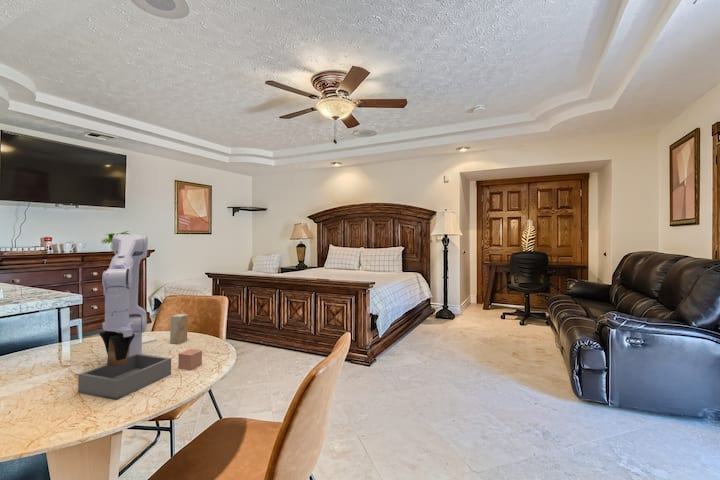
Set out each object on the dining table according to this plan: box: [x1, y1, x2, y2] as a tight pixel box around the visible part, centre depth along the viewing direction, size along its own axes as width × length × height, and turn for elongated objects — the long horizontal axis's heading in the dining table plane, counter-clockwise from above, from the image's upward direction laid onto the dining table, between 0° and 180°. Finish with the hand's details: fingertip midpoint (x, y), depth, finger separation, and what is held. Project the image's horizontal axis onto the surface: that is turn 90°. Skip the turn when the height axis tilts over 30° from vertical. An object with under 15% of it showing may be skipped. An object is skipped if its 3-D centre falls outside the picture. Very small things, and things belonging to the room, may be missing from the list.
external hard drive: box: [142, 335, 158, 346], centre depth 139 cm, size 2×8×12 cm
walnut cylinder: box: [106, 339, 130, 366], centre depth 99 cm, size 5×5×7 cm
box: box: [169, 313, 189, 345], centre depth 141 cm, size 5×4×11 cm
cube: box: [177, 348, 203, 371], centre depth 115 cm, size 5×5×5 cm
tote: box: [77, 353, 172, 401], centre depth 102 cm, size 14×18×5 cm
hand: (116, 357), depth 99 cm, fingers closed on walnut cylinder, 5 cm apart
